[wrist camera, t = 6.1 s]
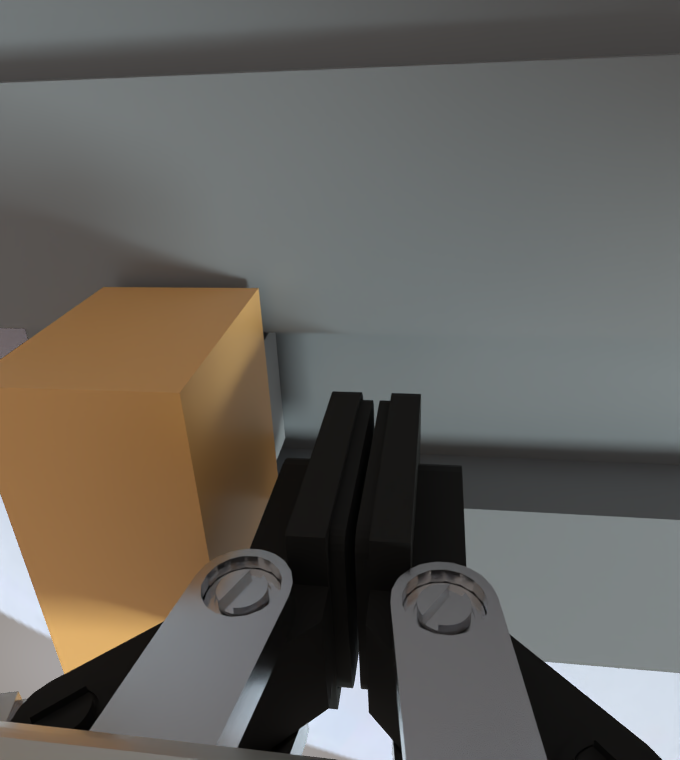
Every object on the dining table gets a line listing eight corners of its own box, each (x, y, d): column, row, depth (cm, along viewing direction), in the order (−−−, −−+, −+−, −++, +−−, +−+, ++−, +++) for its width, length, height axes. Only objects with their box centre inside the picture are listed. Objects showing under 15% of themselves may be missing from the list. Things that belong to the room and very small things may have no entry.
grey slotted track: (1324, -113, 10) (1789, -200, 7) (924, 625, 18) (1043, 763, 15) (-14, -23, 14) (-171, -50, 10) (134, 569, 21) (75, 670, 18)
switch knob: (282, 256, 13) (179, 392, 8) (301, 488, 16) (235, 705, 11) (146, 256, 14) (-38, 386, 8) (188, 483, 16) (69, 688, 11)
